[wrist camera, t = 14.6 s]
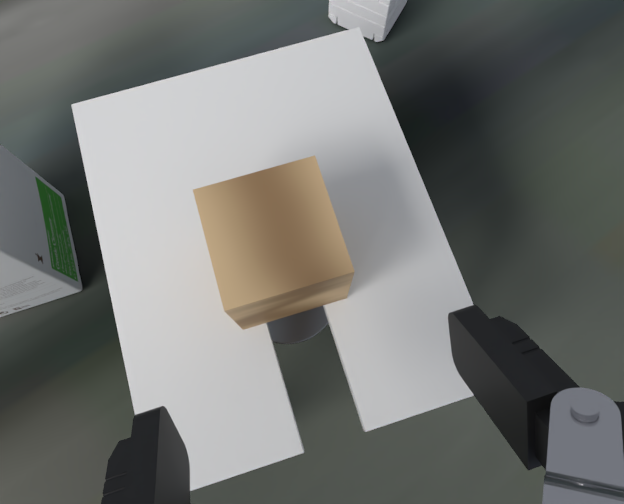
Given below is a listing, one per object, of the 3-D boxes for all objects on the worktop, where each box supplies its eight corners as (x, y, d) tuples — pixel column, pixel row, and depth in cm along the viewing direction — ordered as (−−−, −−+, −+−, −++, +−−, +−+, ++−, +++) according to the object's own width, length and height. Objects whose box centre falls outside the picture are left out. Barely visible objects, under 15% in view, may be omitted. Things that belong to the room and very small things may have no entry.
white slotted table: (210, 467, 33) (153, 503, 21) (145, 194, 38) (71, 104, 27) (441, 390, 34) (506, 384, 22) (346, 136, 39) (359, 26, 28)
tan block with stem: (253, 356, 30) (214, 328, 18) (227, 262, 31) (177, 181, 20) (350, 326, 30) (371, 280, 19) (320, 235, 32) (323, 141, 20)
